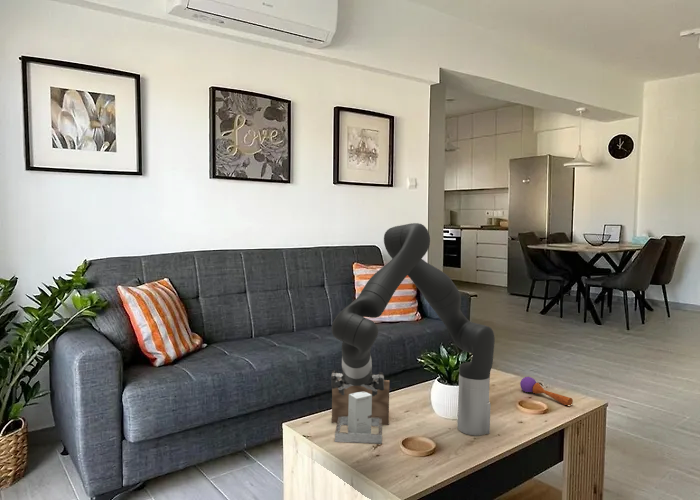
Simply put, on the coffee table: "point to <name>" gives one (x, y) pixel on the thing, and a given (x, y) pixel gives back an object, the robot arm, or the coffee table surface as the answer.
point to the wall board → (378, 402)
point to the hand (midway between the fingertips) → (358, 392)
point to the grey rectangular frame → (358, 436)
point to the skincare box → (360, 412)
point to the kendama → (542, 390)
